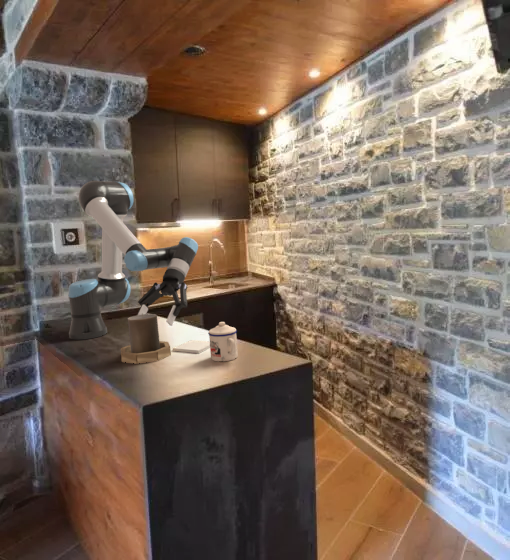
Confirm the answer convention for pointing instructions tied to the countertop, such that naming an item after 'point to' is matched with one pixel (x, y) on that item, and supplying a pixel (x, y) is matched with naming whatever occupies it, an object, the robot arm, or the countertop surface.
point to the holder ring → (145, 354)
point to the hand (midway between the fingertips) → (153, 322)
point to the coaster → (193, 346)
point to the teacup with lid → (223, 342)
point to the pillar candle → (143, 333)
